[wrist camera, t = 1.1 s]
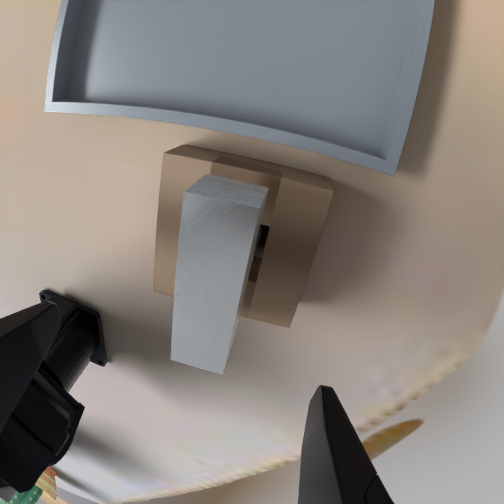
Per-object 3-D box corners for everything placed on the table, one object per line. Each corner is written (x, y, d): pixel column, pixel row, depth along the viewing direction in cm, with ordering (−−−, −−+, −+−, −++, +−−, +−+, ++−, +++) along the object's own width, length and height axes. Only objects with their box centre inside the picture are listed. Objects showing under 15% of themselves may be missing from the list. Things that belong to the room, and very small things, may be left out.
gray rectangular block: (249, 291, 20) (223, 375, 14) (210, 280, 20) (170, 359, 14) (278, 164, 16) (259, 209, 10) (231, 154, 16) (183, 191, 10)
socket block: (292, 302, 20) (289, 327, 18) (169, 269, 20) (153, 290, 18) (330, 178, 16) (334, 191, 14) (182, 144, 16) (163, 152, 14)
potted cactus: (13, 440, 57) (-24, 501, 35) (56, 467, 56) (20, 536, 34) (32, 462, 64) (2, 517, 42) (72, 485, 63) (43, 546, 41)
